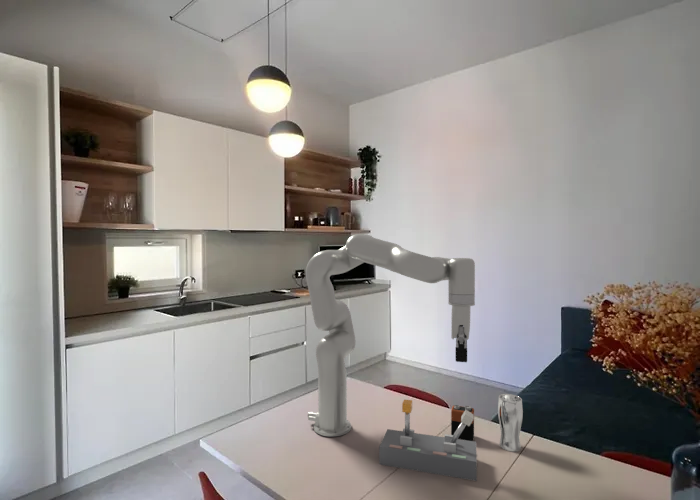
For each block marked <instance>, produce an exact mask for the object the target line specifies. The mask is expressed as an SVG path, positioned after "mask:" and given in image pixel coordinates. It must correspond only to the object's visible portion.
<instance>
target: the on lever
mask: <svg viewBox="0 0 700 500" xmlns="http://www.w3.org/2000/svg"><path fill="white" fill-rule="evenodd" d="M473 420H474V421H475V414H474V415H473V414H472V413H470V412H469V411H467V410H465V411H464V413H463V415H462V416H461V421H462V422H461V424H460V425H459V427H458V428H457V430H456V432H455V433H454V435H453V436H452V438H451V439H450V441H449V443H455V442H456V440H457V439H458V437H459V436H460V434H461V432H462V431H463V429H464V428H465V426H466V425H468V426H470V424H471V423H472V421H473Z"/></svg>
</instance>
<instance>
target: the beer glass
mask: <svg viewBox="0 0 700 500" xmlns="http://www.w3.org/2000/svg"><path fill="white" fill-rule="evenodd" d="M523 410H524V409H523V399H522V398H521V397H520V396H518V395H516V394H511V393H503V394H499V395H498V402H497V415H498V423H499V428H500V438H499V439H500V440H499V447H500V448H501V449H503V450H505V451H508V452H512V453H514V452H515V453H516V452H520V451H521V448H522V447H521V441H520V440H521V439H520V435H521V430H522V428H521V427H522V424H523V413H524V411H523Z"/></svg>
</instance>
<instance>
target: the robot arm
mask: <svg viewBox="0 0 700 500" xmlns="http://www.w3.org/2000/svg"><path fill="white" fill-rule="evenodd" d="M364 263H366V264H369V265H372V266H375V267H376V266H377V267H378V268H382V269H385V270H388V271H390V272H393V273H396V274H399V275H402V276H403V277H406V278H410V279H413V280H417V281H419V282H423V283H428V284H438V283H439V282H442V281H448V305H449V306H451V339H452V340H455V362H457V363H467V362H468V340H469V339H470V333H471V332H470V330H471V307H473V306H475V305H476V302H475V301H476V299H475V298H476V295H475V292H476V291H475V290H476V289H475V287H476V283H475V281H476V274H475V273H476V269H475V268H476V264H475V263H476V262H475V261H474V259H473V258H470V257H453V258H449V257H448V258H447V257H440V256H434V257H431V256H427V255H424V254H420V253H418V252H414V251H411V250H408V249H406V248H403V247H402V246H401V245H399V244H397V243H394V242H390V241H388V240H383V239H380V238H376V237H373V236H372V235H370V234H364V233H356V234H353V235H351V236H349V238H347V240H346V243H345V246H343V247H341V248H339V249H326V250H321V251H319V252H317V253H315V254H314V255H313V256H311V258H310V259H309V260H308V262H307V265H306V267H305V280H306V284H307V288H308V294H309V301H310V304H311V305H310V306H311V311H312V316H313V321H314V324H315V326H316V328H317V329H318V330H320V331H321V332H322V331H323V332H328V333H329V334H327V335H325V336H323V337H322V338H320V340H319V341H318V343H317V345H316V348H315V356H316V357H315V358H316V363H317V377H318V378H317V381H318V382H317V383H318V386H317V387H318V390H317V392H318V403H317V405H318V407H317V408H318V411H317V412H314V411H308V412H307V419H308V420H307V421H311V422H312V421H313V422H314V423H313V430H314V432H315V433H316V434H318V435H320V436H324V437H331V438H332V437H334V438H335V437H340V436H344V435H346V434H348V433H349V432H350V431H351V430H352V423H351V421H349V420H348V419H347V415H348V414H347V412H348V411H347V410H348V409H347V403H348V402H347V401H348V400H347V396H348V395H347V390H348V387H347V384H348V383H347V382H348V381H347V368H346V364H345V363H346V362H345V358H347V357H348V356H350V355H351V354H352V353H353V351H354V350H355V348H356V336H355V330H354V325H353V319H352V314H351V311H350V309H349V307H348V305H347V304H346V303H345V302H344V301H343V300H341V299H340V300H339V299H337V298H336V295H335V294H336V293H335V289H334V285H333V284H332V281H331V279H330V277H331V276H335V275H340V274H344V273H348V272H349V271H351V270H353V269H354V268H356V267H358V266H360V265H362V264H364Z"/></svg>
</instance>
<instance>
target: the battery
mask: <svg viewBox="0 0 700 500" xmlns="http://www.w3.org/2000/svg"><path fill="white" fill-rule="evenodd" d="M465 410H467V411H469V412H470V413H472V414H473V415H474V416H475V409H474V408H473V407H472V406H471V405H464V406H463V405H461V406H460V405H459V404H454V405H452V406H451V411H450V418H451V419H450V421H451V422H450V426H451V427H450V430H451V431H450V432H451V433H450V435H454V433H455V432H456V430H457V428H458V427H459V425H460V424H461V422H462V421H461V416H462V415H463V413H464V411H465ZM474 437H475V419H474V420H473V421H472V423H471V424H470V426H468V425H466V426H465V428H464V429H463V431H462V432H461V434H460V436H459V437H458V439H460V440H467V441H474Z"/></svg>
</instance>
